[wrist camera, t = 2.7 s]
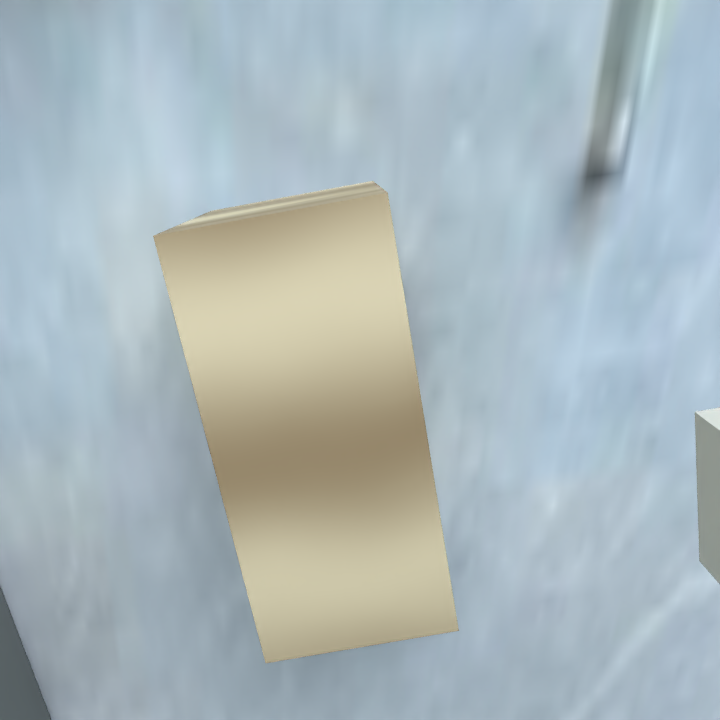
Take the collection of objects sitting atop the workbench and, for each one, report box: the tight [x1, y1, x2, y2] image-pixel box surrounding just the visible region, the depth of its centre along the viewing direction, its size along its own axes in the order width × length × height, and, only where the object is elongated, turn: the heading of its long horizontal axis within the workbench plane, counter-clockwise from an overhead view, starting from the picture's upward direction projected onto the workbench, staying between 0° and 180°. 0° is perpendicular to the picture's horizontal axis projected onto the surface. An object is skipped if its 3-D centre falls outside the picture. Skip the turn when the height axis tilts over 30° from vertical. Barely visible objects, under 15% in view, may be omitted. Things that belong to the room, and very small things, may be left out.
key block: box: [153, 181, 459, 663], centre depth 19 cm, size 11×5×7 cm, turn 10°
